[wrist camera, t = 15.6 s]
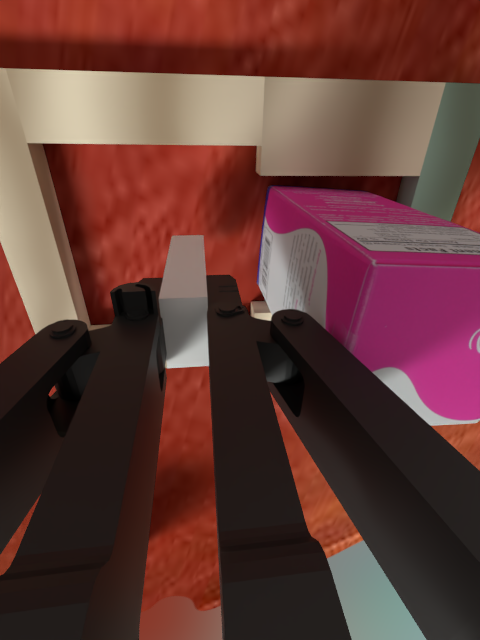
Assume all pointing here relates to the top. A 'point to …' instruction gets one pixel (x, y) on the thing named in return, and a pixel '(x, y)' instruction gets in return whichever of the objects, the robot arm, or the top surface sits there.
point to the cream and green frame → (217, 129)
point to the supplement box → (382, 290)
